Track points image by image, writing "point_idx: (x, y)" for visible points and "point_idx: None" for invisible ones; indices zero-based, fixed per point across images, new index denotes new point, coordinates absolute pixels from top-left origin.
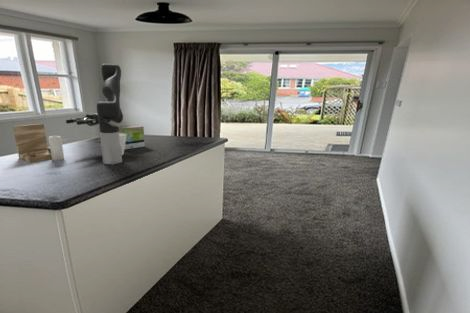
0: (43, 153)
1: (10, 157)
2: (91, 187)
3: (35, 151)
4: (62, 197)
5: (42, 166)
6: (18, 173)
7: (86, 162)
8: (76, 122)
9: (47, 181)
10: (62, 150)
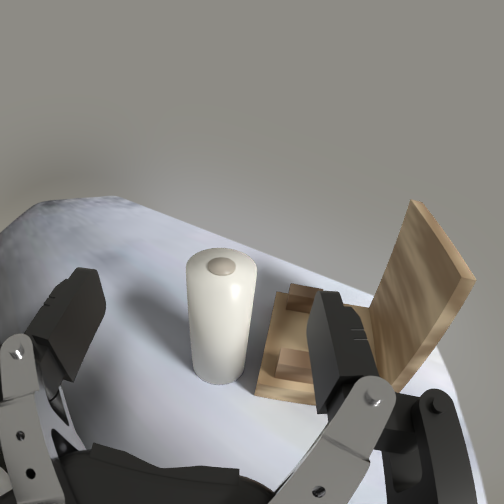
0: None
1: None
2: (8, 231)
3: (375, 351)
4: (39, 207)
5: None
6: (195, 243)
7: None
8: (297, 464)
9: (90, 230)
10: (192, 342)
